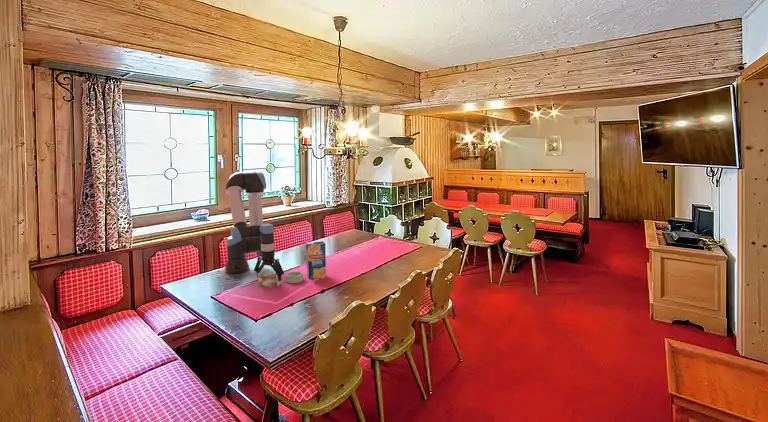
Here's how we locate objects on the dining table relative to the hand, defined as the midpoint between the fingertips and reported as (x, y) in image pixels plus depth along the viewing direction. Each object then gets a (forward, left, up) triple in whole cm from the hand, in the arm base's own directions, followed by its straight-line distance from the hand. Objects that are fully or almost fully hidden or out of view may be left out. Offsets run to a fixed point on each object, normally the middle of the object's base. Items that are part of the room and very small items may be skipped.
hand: (269, 284), depth 232 cm
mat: (0, 0, 0) cm, 0 cm away
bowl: (+11, +10, 0) cm, 15 cm away
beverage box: (+19, +22, 0) cm, 29 cm away
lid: (0, 0, +1) cm, 1 cm away
